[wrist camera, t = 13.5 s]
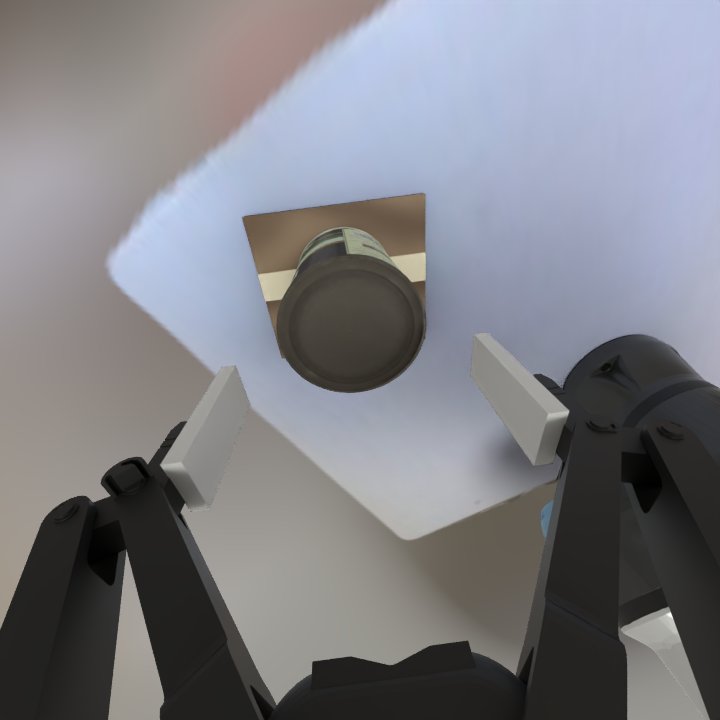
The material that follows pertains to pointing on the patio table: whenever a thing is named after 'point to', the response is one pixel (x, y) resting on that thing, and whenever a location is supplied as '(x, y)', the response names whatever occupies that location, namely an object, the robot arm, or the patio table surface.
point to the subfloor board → (298, 227)
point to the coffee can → (349, 314)
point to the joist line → (281, 280)
